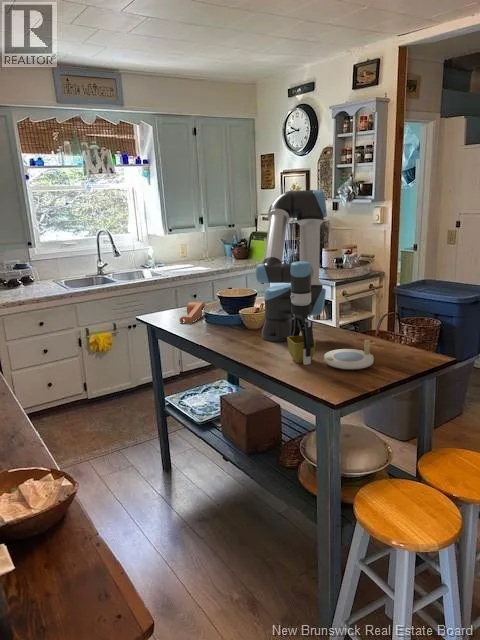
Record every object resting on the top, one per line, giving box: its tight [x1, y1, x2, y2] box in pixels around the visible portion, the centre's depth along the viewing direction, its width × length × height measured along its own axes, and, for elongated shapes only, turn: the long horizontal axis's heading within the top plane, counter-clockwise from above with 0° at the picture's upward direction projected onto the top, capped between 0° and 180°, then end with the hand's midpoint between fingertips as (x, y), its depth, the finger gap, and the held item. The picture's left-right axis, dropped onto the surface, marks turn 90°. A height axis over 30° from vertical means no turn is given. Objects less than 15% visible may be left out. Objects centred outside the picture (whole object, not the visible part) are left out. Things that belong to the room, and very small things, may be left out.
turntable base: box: [333, 367, 364, 371], centre depth 178 cm, size 13×13×1 cm
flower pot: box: [287, 334, 317, 364], centre depth 183 cm, size 9×9×9 cm
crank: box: [179, 301, 207, 324], centre depth 253 cm, size 20×8×8 cm, turn 161°
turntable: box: [323, 339, 375, 370], centre depth 177 cm, size 18×18×7 cm
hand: (301, 360), depth 184 cm, fingers closed on flower pot, 9 cm apart
